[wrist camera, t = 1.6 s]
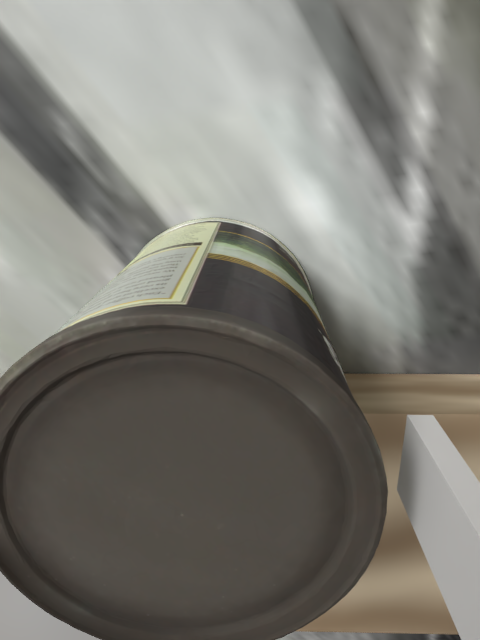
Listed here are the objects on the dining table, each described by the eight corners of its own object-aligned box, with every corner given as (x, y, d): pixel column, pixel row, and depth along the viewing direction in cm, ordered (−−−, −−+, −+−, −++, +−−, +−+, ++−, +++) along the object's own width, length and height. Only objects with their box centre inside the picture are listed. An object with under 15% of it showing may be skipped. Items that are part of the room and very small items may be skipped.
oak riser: (298, 373, 25) (306, 413, 22) (574, 374, 25) (630, 415, 21) (289, 571, 31) (294, 631, 27) (515, 575, 30) (552, 636, 27)
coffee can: (326, 222, 22) (433, 336, 9) (301, 404, 26) (352, 670, 13) (116, 207, 22) (-79, 298, 9) (120, 391, 26) (-12, 645, 13)
